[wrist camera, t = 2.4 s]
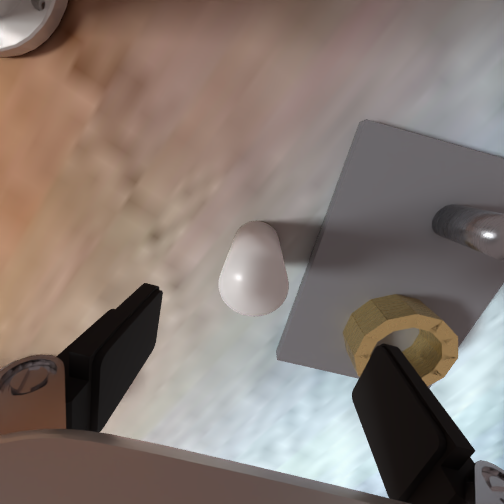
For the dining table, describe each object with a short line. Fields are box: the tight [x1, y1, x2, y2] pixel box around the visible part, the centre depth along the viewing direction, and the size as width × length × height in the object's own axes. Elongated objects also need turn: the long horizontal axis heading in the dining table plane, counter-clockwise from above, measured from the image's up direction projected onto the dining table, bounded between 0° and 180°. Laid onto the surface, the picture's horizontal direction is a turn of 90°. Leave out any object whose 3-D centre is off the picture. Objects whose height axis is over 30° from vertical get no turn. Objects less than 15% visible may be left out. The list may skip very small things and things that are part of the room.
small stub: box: [432, 204, 504, 261], centre depth 16 cm, size 3×3×5 cm
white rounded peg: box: [219, 221, 289, 316], centre depth 17 cm, size 4×4×8 cm
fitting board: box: [276, 119, 504, 388], centre depth 21 cm, size 22×16×1 cm
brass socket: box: [343, 294, 458, 386], centre depth 21 cm, size 8×8×3 cm
